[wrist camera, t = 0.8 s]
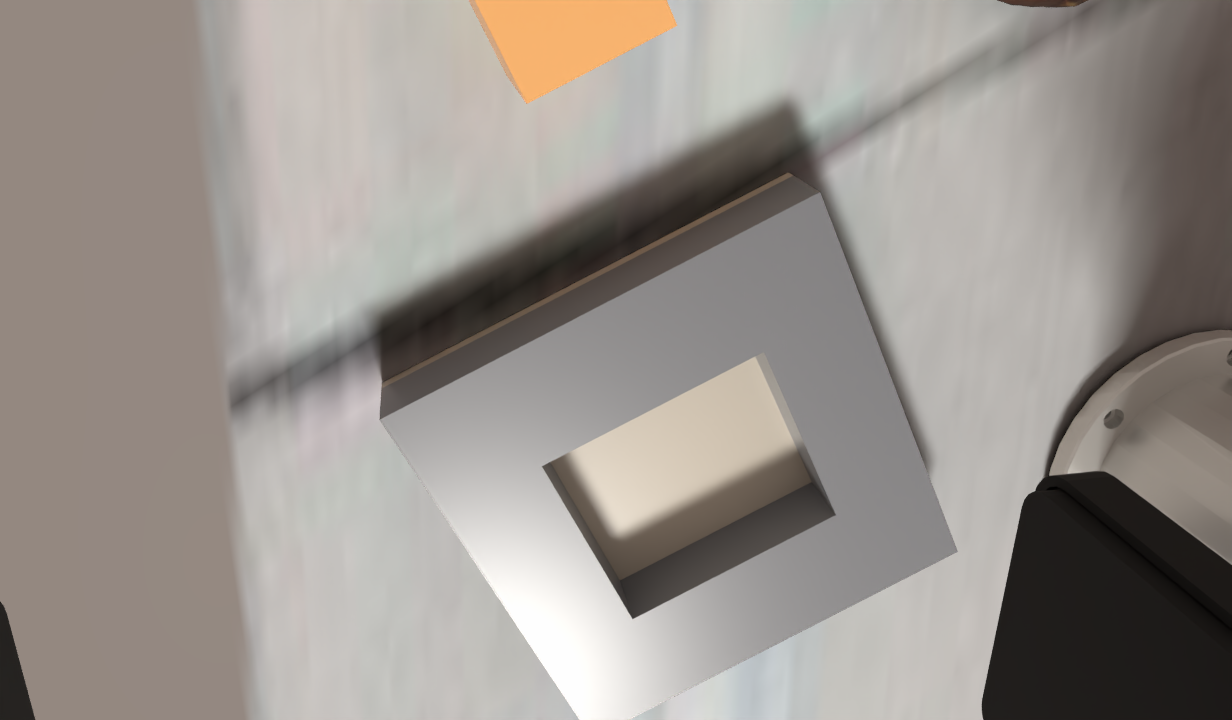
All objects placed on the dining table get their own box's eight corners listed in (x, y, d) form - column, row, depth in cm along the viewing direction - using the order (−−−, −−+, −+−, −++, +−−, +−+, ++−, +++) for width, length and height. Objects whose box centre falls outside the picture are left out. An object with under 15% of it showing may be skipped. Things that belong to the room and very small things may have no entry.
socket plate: (788, 172, 35) (820, 192, 32) (922, 511, 42) (957, 551, 39) (382, 382, 35) (379, 419, 33) (580, 686, 42) (592, 738, 39)
